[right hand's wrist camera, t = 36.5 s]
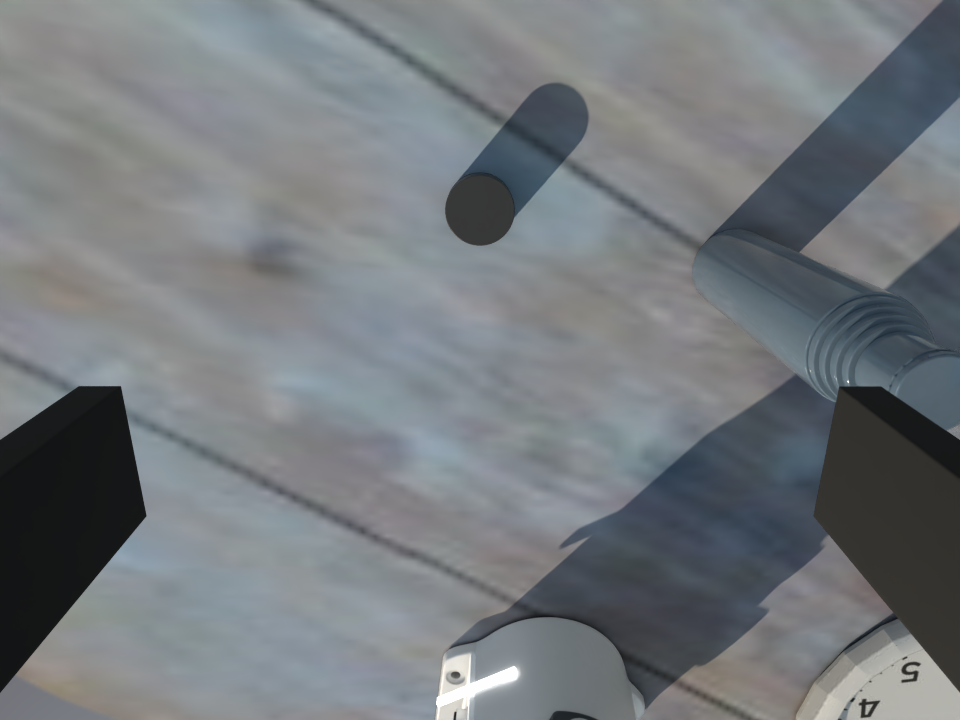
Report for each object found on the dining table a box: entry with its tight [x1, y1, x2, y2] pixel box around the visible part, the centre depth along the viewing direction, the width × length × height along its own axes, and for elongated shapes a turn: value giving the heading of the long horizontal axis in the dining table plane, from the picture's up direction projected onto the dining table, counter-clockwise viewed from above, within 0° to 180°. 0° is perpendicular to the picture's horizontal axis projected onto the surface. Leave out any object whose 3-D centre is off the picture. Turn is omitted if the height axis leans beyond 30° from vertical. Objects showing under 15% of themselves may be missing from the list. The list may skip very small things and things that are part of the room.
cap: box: [445, 173, 515, 246], centre depth 45 cm, size 4×4×2 cm
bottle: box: [692, 229, 960, 431], centre depth 37 cm, size 6×6×23 cm
